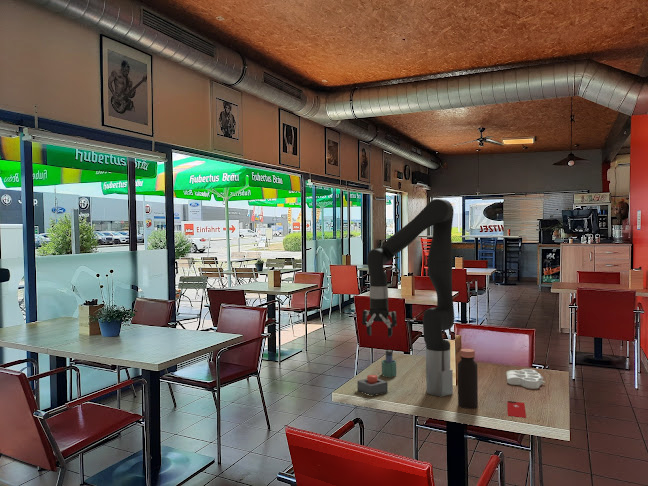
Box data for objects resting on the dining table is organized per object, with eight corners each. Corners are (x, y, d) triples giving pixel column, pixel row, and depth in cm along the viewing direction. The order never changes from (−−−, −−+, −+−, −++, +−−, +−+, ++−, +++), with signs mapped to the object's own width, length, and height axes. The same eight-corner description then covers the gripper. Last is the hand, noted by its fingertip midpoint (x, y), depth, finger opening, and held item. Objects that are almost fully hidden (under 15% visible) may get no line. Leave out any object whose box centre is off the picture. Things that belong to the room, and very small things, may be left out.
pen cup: (399, 375, 209) (399, 361, 209) (388, 377, 206) (388, 364, 205) (389, 372, 214) (389, 358, 214) (379, 374, 211) (379, 360, 211)
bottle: (478, 409, 167) (478, 352, 167) (458, 408, 168) (458, 352, 168) (476, 402, 174) (476, 348, 173) (457, 401, 175) (456, 347, 175)
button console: (387, 392, 187) (387, 382, 187) (370, 396, 182) (370, 386, 182) (373, 386, 194) (373, 376, 194) (357, 390, 189) (357, 380, 189)
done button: (379, 384, 187) (379, 376, 187) (371, 386, 185) (371, 378, 185) (373, 381, 191) (373, 374, 191) (365, 383, 189) (365, 375, 189)
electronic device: (526, 419, 159) (524, 404, 173) (526, 417, 159) (524, 402, 173) (507, 416, 161) (507, 402, 175) (507, 415, 161) (507, 400, 175)
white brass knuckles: (506, 374, 209) (542, 377, 204) (507, 387, 192) (547, 390, 187) (506, 367, 209) (542, 370, 204) (507, 379, 192) (547, 382, 187)
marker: (394, 373, 209) (394, 351, 209) (388, 374, 208) (388, 352, 208) (389, 372, 212) (389, 349, 212) (384, 373, 210) (384, 350, 210)
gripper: (398, 296, 197) (398, 335, 197) (365, 295, 203) (366, 333, 203) (392, 298, 190) (393, 339, 190) (359, 297, 196) (360, 336, 197)
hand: (379, 336), depth 197 cm, fingers open, 8 cm apart
